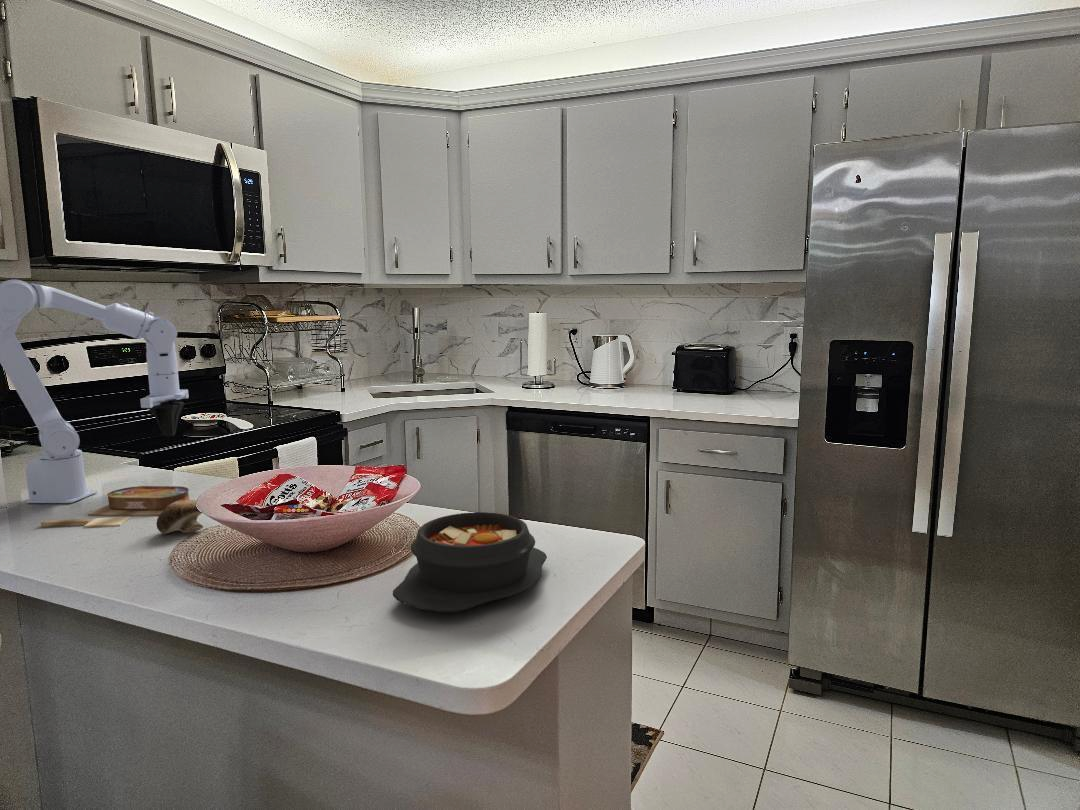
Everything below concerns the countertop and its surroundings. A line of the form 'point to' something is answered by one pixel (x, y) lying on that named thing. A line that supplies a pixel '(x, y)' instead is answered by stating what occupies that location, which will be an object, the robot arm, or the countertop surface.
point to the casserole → (470, 562)
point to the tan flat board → (124, 512)
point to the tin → (146, 497)
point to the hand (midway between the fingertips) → (169, 435)
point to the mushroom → (179, 517)
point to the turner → (87, 522)
